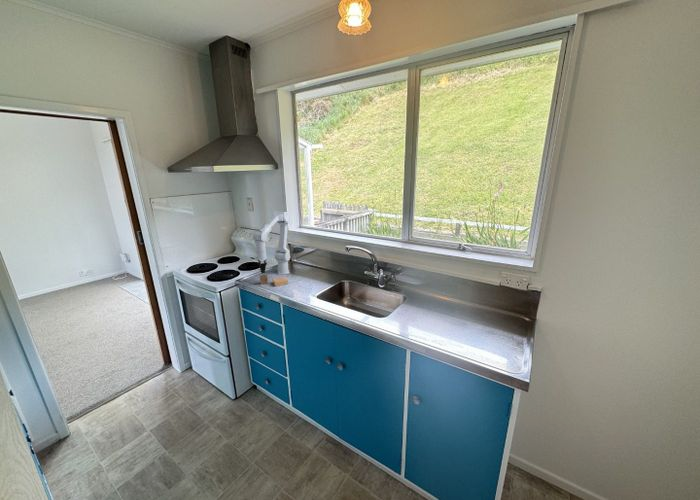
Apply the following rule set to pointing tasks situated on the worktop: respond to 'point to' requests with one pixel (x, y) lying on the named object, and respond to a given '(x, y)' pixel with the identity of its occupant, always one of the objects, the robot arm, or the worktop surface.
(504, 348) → the worktop surface
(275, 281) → the peach slab
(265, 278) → the walnut block
